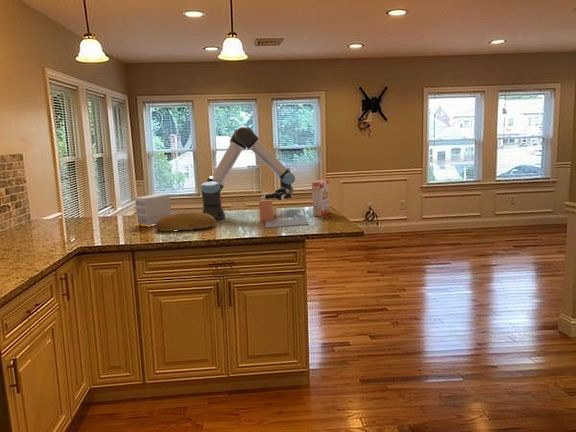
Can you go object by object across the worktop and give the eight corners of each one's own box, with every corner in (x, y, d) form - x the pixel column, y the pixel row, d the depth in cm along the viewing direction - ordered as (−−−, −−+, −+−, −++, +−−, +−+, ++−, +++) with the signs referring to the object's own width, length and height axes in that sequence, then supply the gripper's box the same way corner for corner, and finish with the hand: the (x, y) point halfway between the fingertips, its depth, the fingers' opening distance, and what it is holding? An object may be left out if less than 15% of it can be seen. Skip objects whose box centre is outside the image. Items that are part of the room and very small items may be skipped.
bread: (214, 230, 266) (212, 212, 264) (152, 234, 266) (150, 216, 264) (218, 224, 284) (217, 207, 282) (160, 227, 284) (158, 211, 282)
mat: (265, 228, 260) (265, 227, 260) (265, 221, 279) (265, 220, 279) (308, 225, 261) (308, 223, 261) (305, 219, 280) (305, 218, 280)
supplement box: (162, 221, 307) (159, 193, 304) (173, 222, 298) (170, 194, 295) (137, 225, 295) (134, 197, 292) (148, 227, 286) (144, 198, 283)
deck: (262, 219, 287) (261, 200, 285) (273, 219, 285) (271, 200, 283) (260, 220, 284) (258, 201, 282) (271, 220, 282) (270, 200, 280)
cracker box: (322, 216, 284) (320, 182, 281) (313, 216, 287) (311, 182, 283) (330, 212, 297) (328, 179, 293) (321, 212, 299) (319, 179, 296)
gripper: (300, 198, 308) (291, 204, 288) (264, 200, 315) (253, 205, 295) (299, 187, 306) (290, 191, 286) (263, 188, 314) (252, 193, 294)
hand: (271, 198), depth 291 cm, fingers open, 13 cm apart
